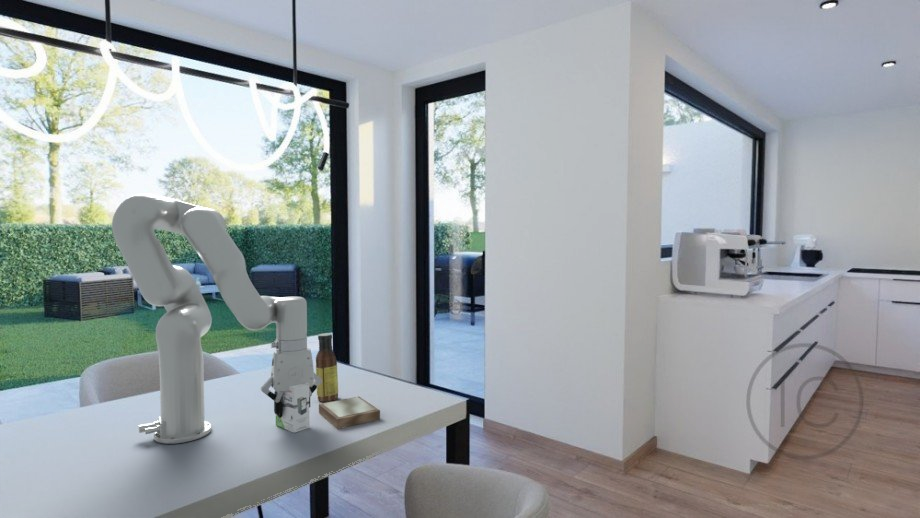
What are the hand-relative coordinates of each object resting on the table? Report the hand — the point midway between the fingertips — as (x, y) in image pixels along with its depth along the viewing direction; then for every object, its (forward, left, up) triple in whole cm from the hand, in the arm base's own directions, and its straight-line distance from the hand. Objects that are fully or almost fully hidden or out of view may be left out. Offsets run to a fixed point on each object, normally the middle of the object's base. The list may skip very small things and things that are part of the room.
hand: (292, 412), depth 131 cm
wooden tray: (+15, -1, -4) cm, 15 cm away
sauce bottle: (+15, +16, -4) cm, 22 cm away
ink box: (0, 0, -4) cm, 4 cm away
